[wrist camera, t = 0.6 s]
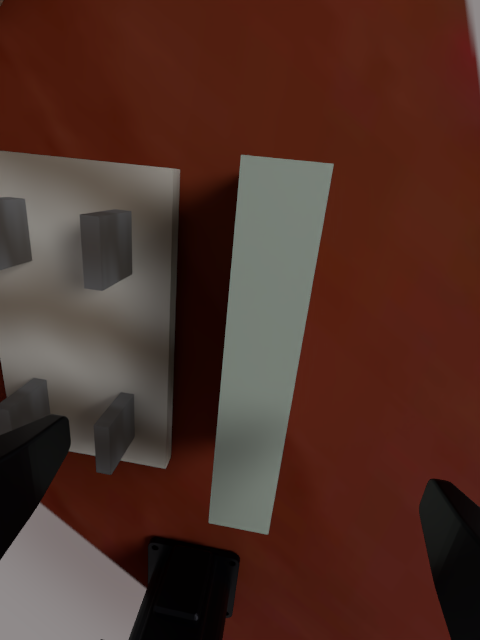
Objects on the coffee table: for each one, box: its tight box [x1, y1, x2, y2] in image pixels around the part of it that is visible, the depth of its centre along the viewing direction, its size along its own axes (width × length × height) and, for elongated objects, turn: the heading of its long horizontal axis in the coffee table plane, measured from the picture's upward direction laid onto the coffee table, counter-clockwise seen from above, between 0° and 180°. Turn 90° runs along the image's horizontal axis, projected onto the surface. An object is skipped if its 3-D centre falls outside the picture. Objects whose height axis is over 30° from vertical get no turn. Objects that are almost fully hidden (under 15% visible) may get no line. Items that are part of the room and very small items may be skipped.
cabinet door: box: [208, 155, 334, 535], centre depth 15 cm, size 14×2×7 cm, turn 175°
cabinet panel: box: [0, 151, 180, 475], centre depth 18 cm, size 17×10×4 cm, turn 175°
